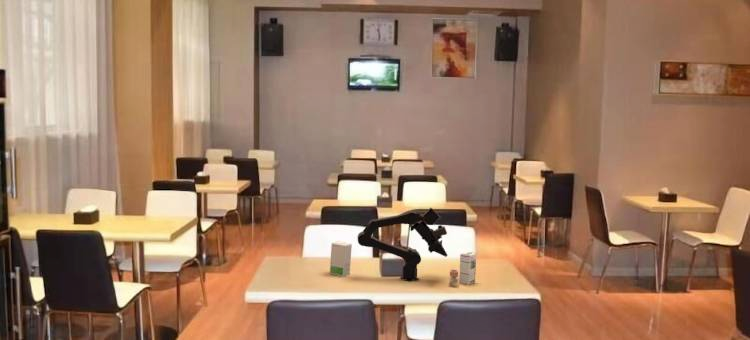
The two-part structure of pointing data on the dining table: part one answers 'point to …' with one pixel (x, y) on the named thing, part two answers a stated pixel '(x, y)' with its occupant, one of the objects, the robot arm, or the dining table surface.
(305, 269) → the dining table surface
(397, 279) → the dining table surface
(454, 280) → the beech block
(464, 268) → the syrup box
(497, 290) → the dining table surface
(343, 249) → the skincare box
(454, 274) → the terracotta block
